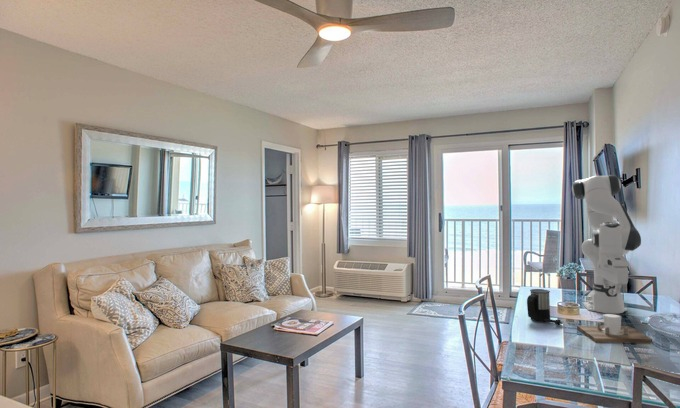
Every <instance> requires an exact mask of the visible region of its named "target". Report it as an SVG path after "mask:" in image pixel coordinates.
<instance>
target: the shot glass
mask: <svg viewBox="0 0 680 408" xmlns="http://www.w3.org/2000/svg"><path fill="white" fill-rule="evenodd" d="M602 319H603V326H604V327H609V333H620V330H621V326H622V315H620V314H617V313H616V314H613V313H602Z"/></svg>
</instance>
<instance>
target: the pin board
mask: <svg viewBox="0 0 680 408" xmlns="http://www.w3.org/2000/svg"><path fill="white" fill-rule="evenodd" d="M576 330H578V331H579V332H581V333H582V334H583V335H584V336H586V337H587V338H589V339H590V340H591V341H592V342H594V343H626V344H627V343H632V344H633V343H634V344H638V343H641V344H643V343H644V344H652V343H653V339H652V337H649V336H647V335H646V334H644V333H642V332H640V331H639V330H637V329H635V328H634V327H632V326H629V325H621V330H620V333H609V327H604V325H602V322H599V321H597V325H576Z"/></svg>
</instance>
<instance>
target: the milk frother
mask: <svg viewBox="0 0 680 408" xmlns="http://www.w3.org/2000/svg"><path fill="white" fill-rule="evenodd" d="M529 291H530V295H528V296H527V299H526V307H527V308H526V309H527V317H528V318H529V319H530V320H531V321H534V322H537V323H538V322H539V323H554V324H555V325H556V326H560V325H562V324H563V325H564V322H563V321H561V320H560V319H551V309H550V308H551V305H550V302H551V301H550V292H551V291H550V290H549V289H544V288H543V289H542V288H532V289H530V290H529Z"/></svg>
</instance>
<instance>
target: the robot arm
mask: <svg viewBox="0 0 680 408" xmlns="http://www.w3.org/2000/svg"><path fill="white" fill-rule="evenodd" d="M621 186H622V182H621V180H620V178H619V177H618V176H617V175H616V174H607V175H593V176H590V177H587V178H583V179H577V180H575V181H573V182H572V186H571V192H572V194H573V196H574V198H575V199H577V200H584V199H585V202H586V211H587V218H588V224H589V227H590V228H591V229H592V230H594V231H592V233H591V236H592V238H588V239H585V240H584V241H583V242H582V243H581V252H582V255H584V256H585V257H586V258H587V259H588V260H589V262H590V263H591V266H592V270H593V277H594V278H593V279H594V281H593V282H594V283H593V284H592V290H591V291H590V292H589V293H588V294H587V295H586V296H585V299H586V301H584V302H583V301H582V305H583V306H584V307H585V308H586V309H587V311H590V312H591V311H592V312H597V313H602V314H616V315H617V314H623V313H624V312H627V311H628V308H627V307H625V301H624V295H623V294H622V293H621V289H622V286H626V285H628V282H629V268H628V267H629V266H630V262H629V260H627V258H626V257H625V255H627V254H628V253H629V252H631V251H632V252H633V251H635V250H637V249H638V248H639V247H641V245H642V238H641V234H640V232H639V230H637V228H636V226H635V225H634V223H633V221H632V219H631V217H630V215H629V213H628V211H627V209H626V208H625V206H624V204H623V202H621V201H619V200H617V199H615V197H614V196H615V195H617V194H619V193H620V191H621V188H622V187H621ZM614 218H615V219H616V220H617V221H618V222H615V221H614Z"/></svg>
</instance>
